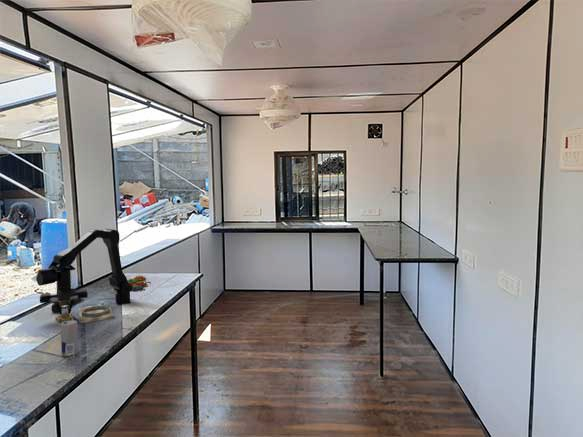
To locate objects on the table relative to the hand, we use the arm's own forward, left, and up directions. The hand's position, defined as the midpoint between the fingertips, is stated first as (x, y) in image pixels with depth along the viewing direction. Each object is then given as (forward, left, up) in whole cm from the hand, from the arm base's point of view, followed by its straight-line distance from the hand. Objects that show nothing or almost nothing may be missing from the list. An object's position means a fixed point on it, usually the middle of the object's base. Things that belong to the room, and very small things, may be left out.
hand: (65, 314), depth 178 cm
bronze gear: (0, 0, -2) cm, 2 cm away
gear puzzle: (-38, -48, -3) cm, 61 cm away
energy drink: (-2, +42, -2) cm, 42 cm away
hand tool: (-1, -21, -3) cm, 22 cm away
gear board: (-13, -1, -2) cm, 13 cm away
